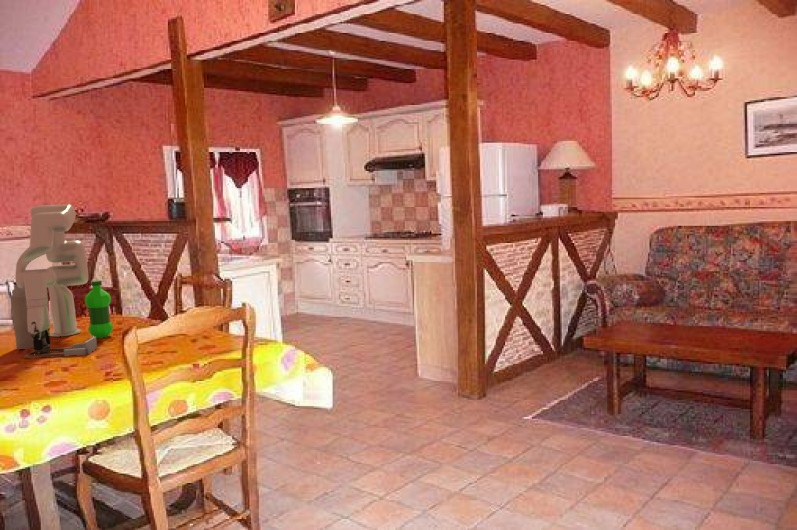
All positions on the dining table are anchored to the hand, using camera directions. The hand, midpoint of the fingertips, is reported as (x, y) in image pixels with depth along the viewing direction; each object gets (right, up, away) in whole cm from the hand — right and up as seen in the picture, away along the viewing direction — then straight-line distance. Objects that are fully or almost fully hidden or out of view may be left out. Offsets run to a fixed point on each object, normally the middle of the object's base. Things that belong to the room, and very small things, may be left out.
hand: (42, 347), depth 260 cm
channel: (+3, -3, +1) cm, 4 cm away
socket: (+14, -2, +2) cm, 14 cm away
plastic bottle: (+10, +1, +29) cm, 31 cm away
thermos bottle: (-14, -2, +15) cm, 21 cm away
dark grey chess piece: (0, -3, 0) cm, 3 cm away
